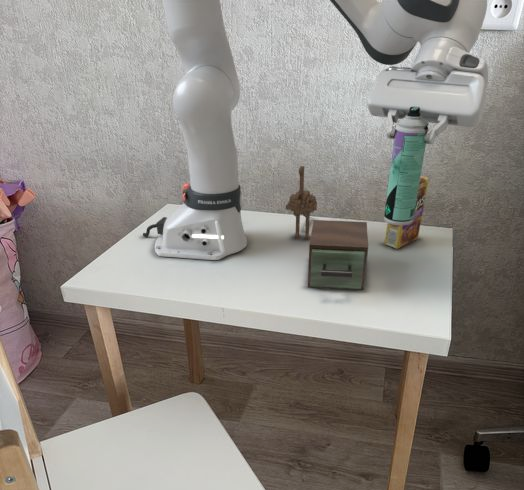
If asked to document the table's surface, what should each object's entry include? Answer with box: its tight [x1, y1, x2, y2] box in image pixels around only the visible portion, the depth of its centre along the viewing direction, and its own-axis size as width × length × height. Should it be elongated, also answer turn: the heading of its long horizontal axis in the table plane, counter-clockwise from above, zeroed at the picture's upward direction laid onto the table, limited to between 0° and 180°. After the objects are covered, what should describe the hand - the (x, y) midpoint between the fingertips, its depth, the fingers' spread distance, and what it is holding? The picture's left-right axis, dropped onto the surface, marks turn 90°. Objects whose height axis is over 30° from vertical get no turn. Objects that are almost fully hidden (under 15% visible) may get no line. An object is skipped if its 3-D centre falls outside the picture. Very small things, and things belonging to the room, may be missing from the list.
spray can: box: [383, 107, 430, 225], centre depth 96 cm, size 6×6×20 cm
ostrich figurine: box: [285, 165, 318, 241], centre depth 132 cm, size 17×7×18 cm, turn 163°
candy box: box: [384, 175, 430, 250], centre depth 126 cm, size 9×4×15 cm, turn 134°
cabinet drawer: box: [310, 249, 365, 289], centre depth 110 cm, size 17×10×8 cm, turn 172°
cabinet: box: [307, 219, 369, 291], centre depth 114 cm, size 14×12×10 cm
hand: (409, 139), depth 93 cm, fingers closed on spray can, 5 cm apart
